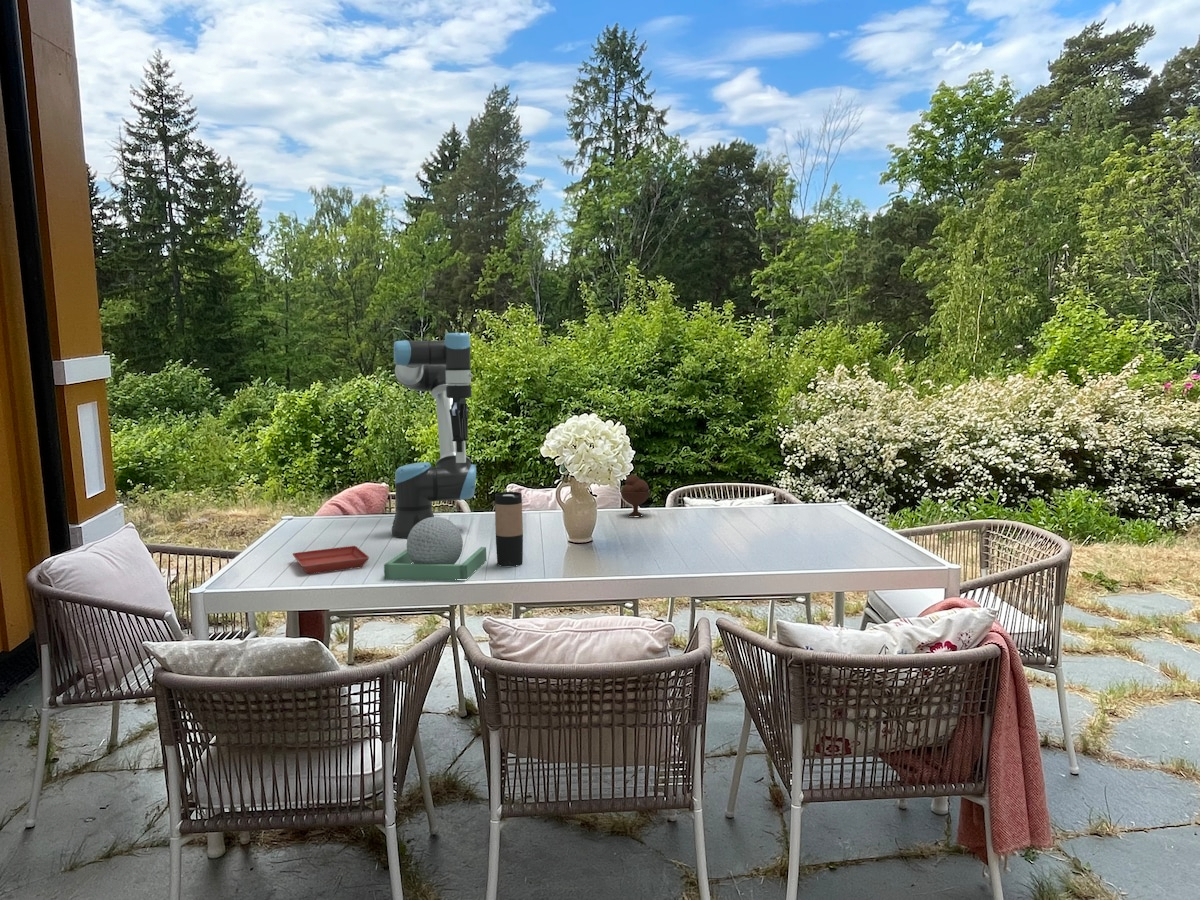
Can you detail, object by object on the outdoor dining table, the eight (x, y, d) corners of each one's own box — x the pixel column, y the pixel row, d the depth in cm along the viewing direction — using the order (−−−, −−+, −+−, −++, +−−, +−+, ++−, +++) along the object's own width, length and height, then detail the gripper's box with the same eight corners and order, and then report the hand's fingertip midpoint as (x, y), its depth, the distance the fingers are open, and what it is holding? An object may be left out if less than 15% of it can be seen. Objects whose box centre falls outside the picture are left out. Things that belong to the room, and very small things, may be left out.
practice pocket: (412, 559, 236) (411, 545, 236) (486, 560, 234) (486, 547, 233) (384, 579, 215) (384, 564, 215) (465, 581, 213) (465, 566, 212)
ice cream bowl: (619, 518, 293) (618, 477, 291) (623, 512, 304) (623, 473, 302) (648, 519, 291) (648, 477, 290) (651, 513, 302) (651, 473, 301)
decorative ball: (474, 570, 223) (473, 516, 222) (429, 581, 212) (427, 525, 211) (441, 561, 233) (440, 510, 232) (396, 572, 222) (394, 518, 221)
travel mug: (498, 560, 234) (496, 491, 232) (525, 560, 234) (523, 491, 232) (494, 567, 226) (492, 496, 224) (521, 567, 226) (520, 496, 224)
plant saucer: (292, 563, 235) (291, 552, 234) (355, 555, 243) (355, 544, 243) (302, 578, 219) (302, 565, 219) (370, 568, 228) (370, 557, 227)
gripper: (464, 385, 238) (467, 465, 241) (476, 383, 251) (478, 459, 254) (439, 385, 239) (442, 465, 242) (452, 384, 252) (455, 459, 255)
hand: (461, 462), depth 248 cm, fingers closed
